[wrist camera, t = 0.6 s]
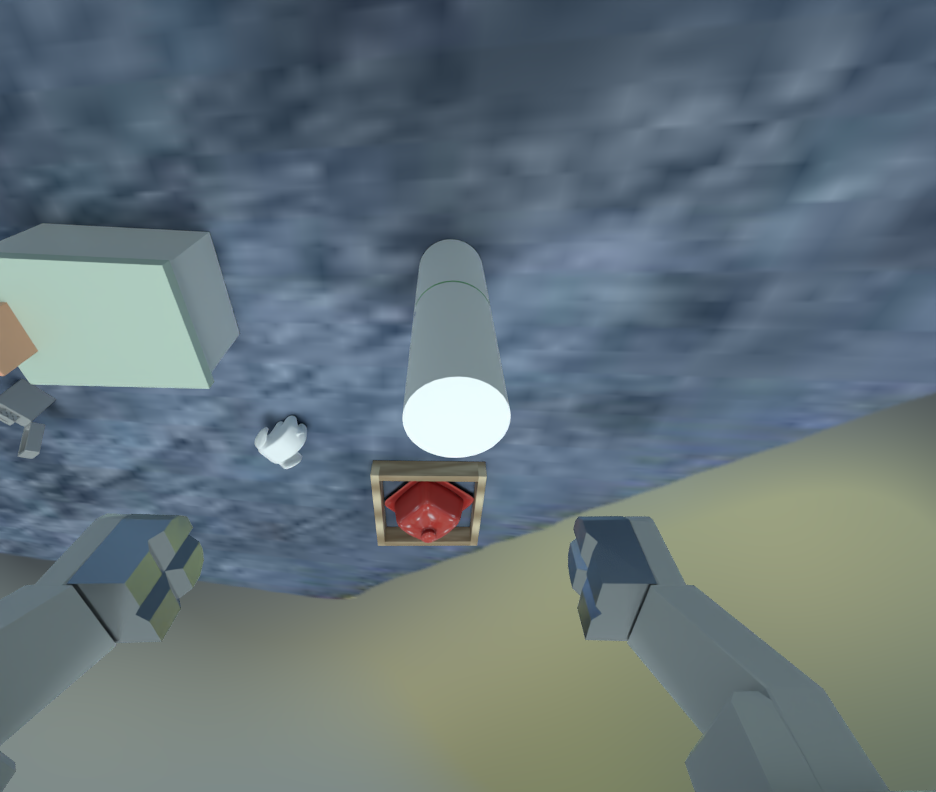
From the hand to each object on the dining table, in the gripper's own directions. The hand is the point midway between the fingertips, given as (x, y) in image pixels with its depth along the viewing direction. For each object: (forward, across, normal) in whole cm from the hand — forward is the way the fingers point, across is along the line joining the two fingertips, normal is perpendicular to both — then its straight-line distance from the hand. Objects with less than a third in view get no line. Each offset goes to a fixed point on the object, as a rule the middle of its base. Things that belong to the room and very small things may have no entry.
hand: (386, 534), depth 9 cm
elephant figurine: (+44, +22, +29) cm, 57 cm away
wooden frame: (+46, +3, +46) cm, 65 cm away
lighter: (+42, +52, +24) cm, 71 cm away
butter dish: (+47, +3, +45) cm, 65 cm away
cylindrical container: (+42, -1, +6) cm, 43 cm away
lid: (+32, +32, +9) cm, 46 cm away
